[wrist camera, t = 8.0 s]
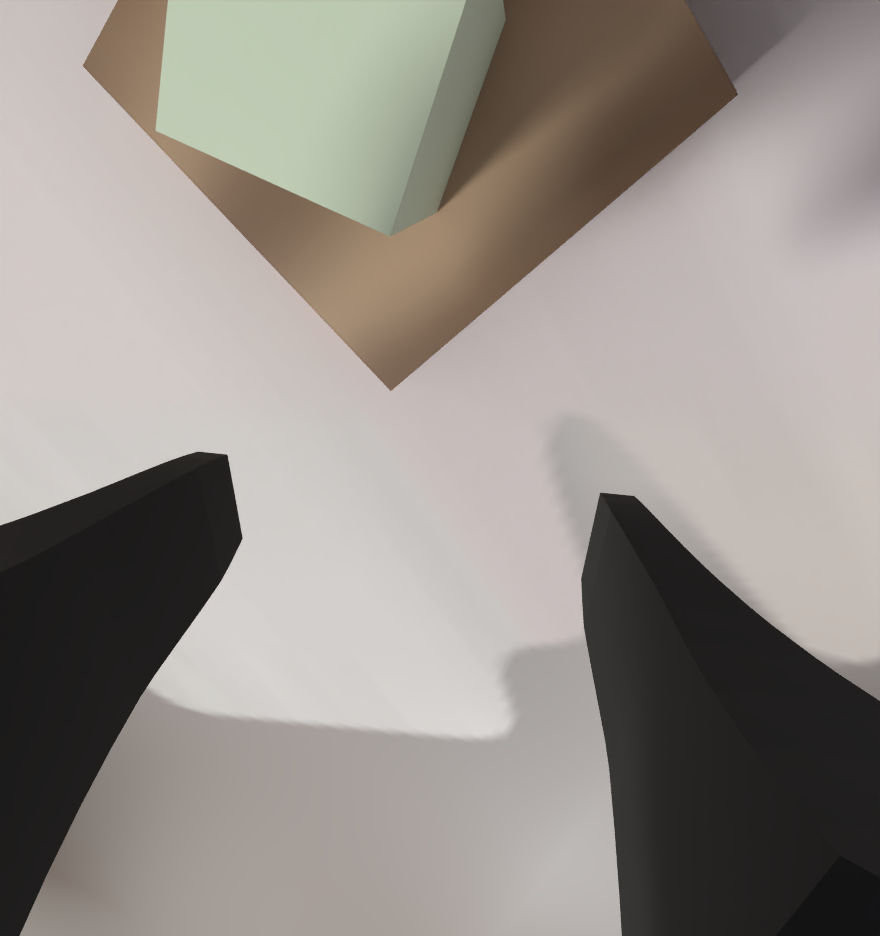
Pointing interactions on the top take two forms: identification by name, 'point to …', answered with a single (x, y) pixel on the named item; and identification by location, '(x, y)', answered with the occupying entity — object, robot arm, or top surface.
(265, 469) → the top surface
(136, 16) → the walnut block
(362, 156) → the sage block
